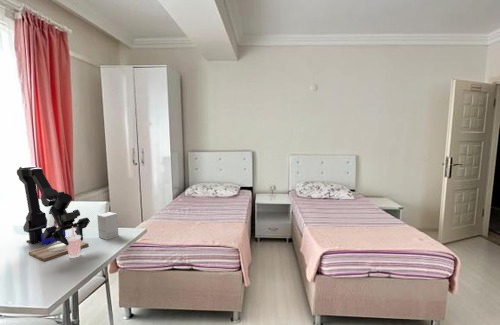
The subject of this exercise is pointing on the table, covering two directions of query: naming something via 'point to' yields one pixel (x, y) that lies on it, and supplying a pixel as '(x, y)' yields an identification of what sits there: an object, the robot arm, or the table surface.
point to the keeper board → (52, 251)
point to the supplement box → (107, 225)
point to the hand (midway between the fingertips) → (75, 242)
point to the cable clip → (50, 240)
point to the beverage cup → (73, 245)
